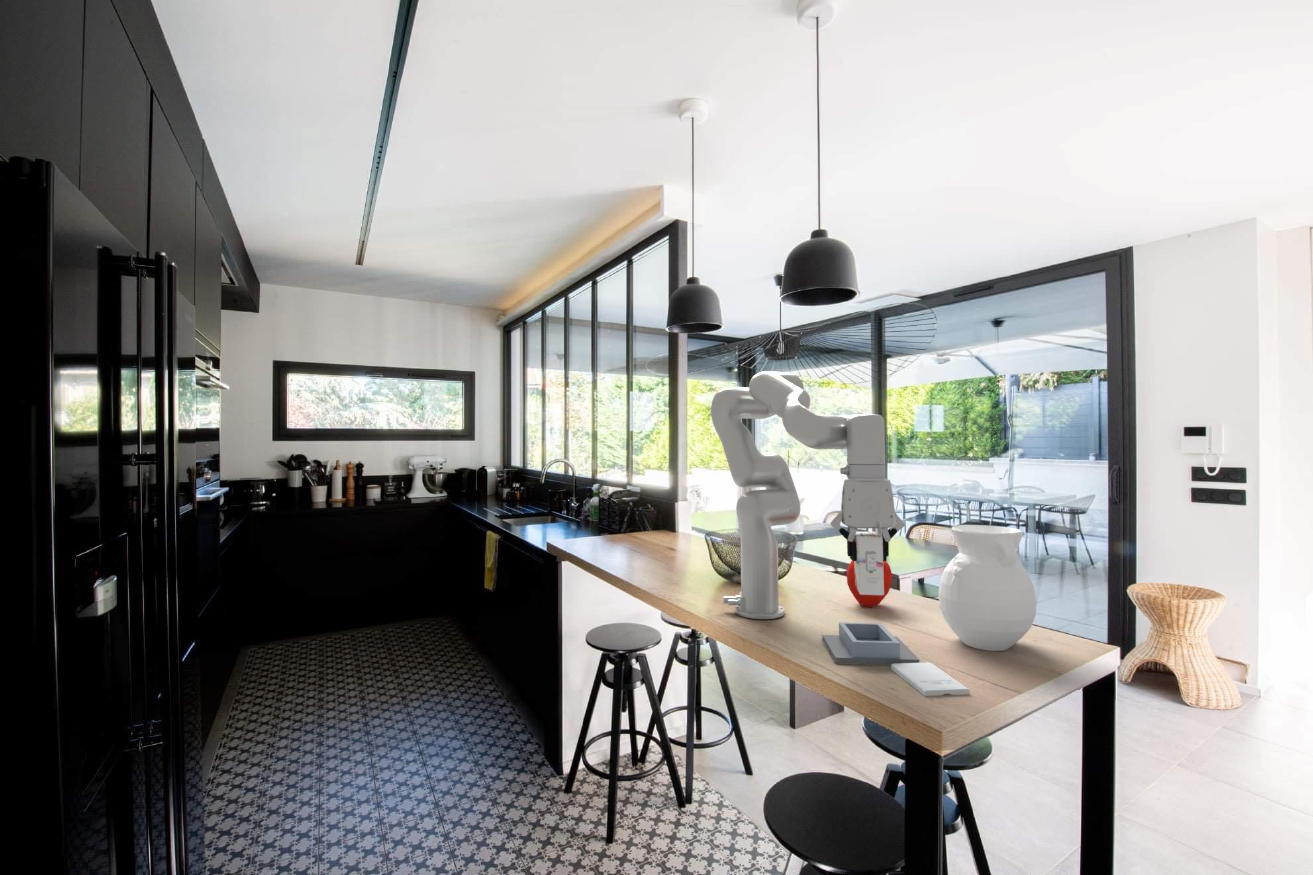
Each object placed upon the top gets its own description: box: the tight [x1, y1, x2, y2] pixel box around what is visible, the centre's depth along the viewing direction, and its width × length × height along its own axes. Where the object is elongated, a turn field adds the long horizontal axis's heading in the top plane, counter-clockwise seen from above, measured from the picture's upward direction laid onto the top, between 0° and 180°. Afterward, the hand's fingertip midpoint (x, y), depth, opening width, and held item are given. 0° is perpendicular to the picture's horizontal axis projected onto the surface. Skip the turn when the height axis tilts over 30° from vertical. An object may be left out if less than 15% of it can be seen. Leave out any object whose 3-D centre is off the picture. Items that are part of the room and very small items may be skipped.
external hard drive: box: [890, 662, 971, 697], centre depth 108 cm, size 2×8×12 cm
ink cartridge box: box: [854, 522, 884, 595], centre depth 123 cm, size 9×5×15 cm, turn 169°
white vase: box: [938, 524, 1037, 652], centre depth 128 cm, size 19×18×25 cm
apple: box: [846, 560, 893, 608], centre depth 159 cm, size 12×12×13 cm
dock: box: [821, 621, 920, 666], centre depth 123 cm, size 16×14×4 cm
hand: (867, 559), depth 123 cm, fingers closed on ink cartridge box, 5 cm apart
